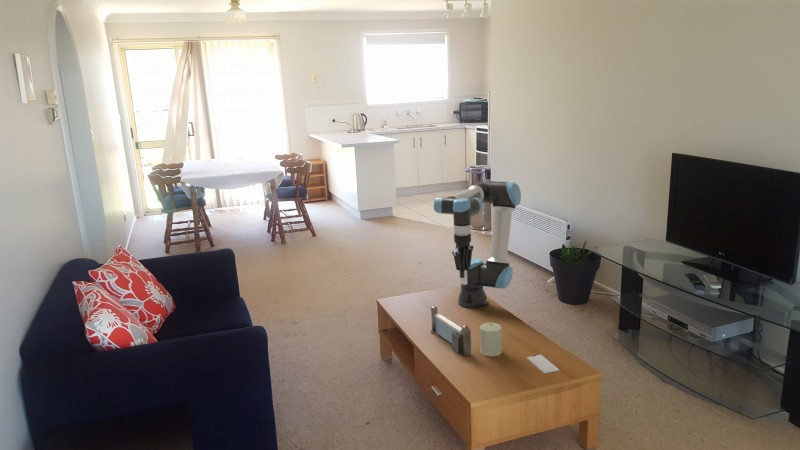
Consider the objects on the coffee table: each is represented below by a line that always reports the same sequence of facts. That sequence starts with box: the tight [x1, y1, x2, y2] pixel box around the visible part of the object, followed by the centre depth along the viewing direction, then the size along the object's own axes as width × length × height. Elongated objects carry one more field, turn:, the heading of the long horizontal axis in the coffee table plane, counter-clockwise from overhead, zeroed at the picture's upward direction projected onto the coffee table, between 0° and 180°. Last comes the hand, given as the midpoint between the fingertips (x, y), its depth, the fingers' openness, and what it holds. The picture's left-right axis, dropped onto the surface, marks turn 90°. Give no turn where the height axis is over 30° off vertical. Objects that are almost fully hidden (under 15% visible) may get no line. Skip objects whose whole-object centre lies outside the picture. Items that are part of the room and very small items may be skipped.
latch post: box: [451, 324, 472, 357], centre depth 249 cm, size 5×8×13 cm, turn 27°
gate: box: [435, 313, 462, 344], centre depth 259 cm, size 22×2×9 cm, turn 27°
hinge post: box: [429, 306, 439, 335], centre depth 270 cm, size 4×4×13 cm
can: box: [479, 322, 503, 358], centre depth 248 cm, size 9×9×12 cm
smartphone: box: [526, 353, 560, 375], centre depth 236 cm, size 7×1×15 cm
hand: (463, 283), depth 263 cm, fingers closed
